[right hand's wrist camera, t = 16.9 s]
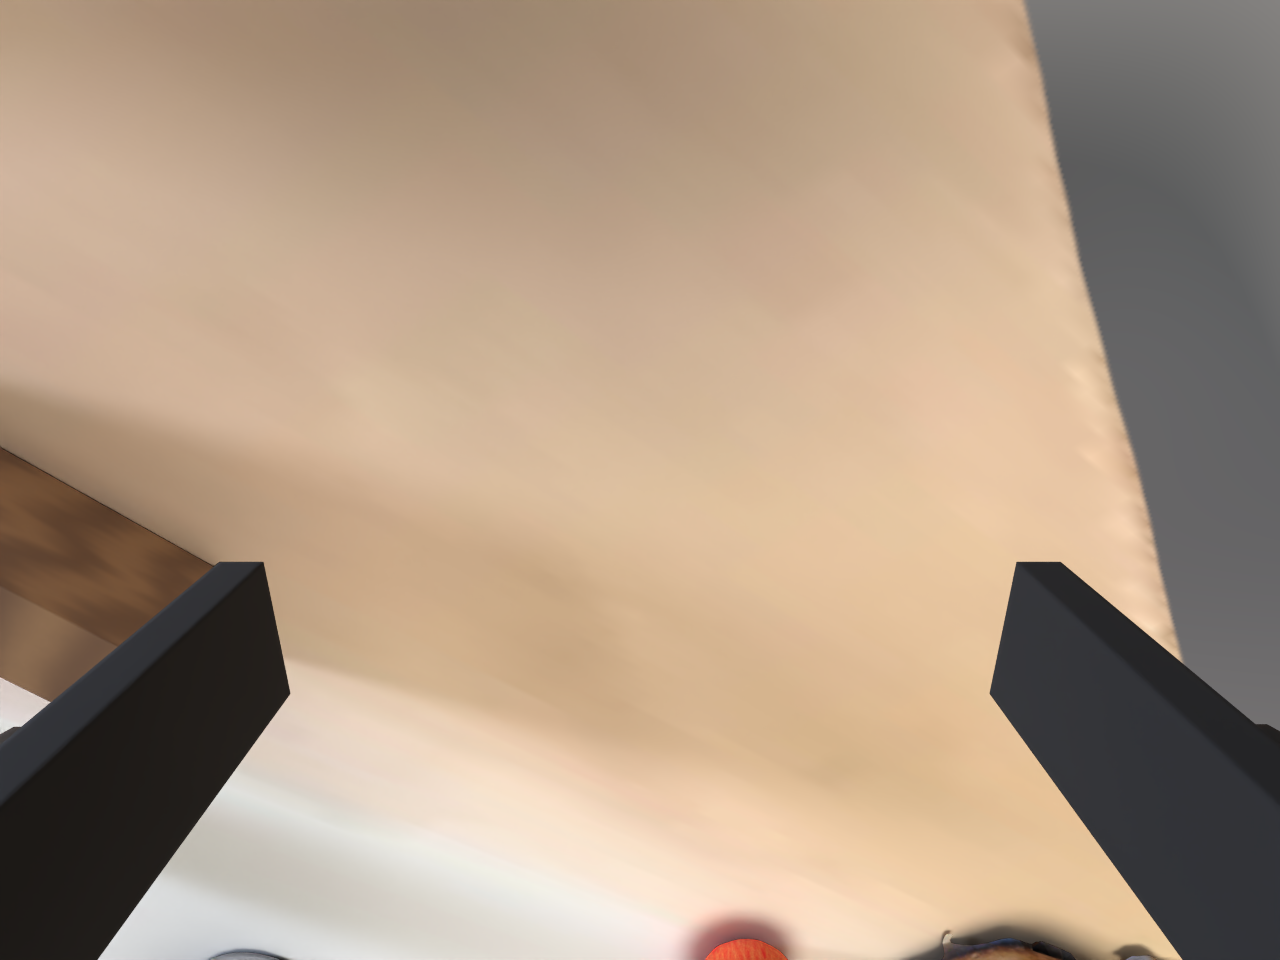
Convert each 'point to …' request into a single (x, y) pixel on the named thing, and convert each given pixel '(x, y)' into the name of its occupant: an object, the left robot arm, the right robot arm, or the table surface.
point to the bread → (1010, 951)
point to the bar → (74, 579)
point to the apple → (745, 951)
